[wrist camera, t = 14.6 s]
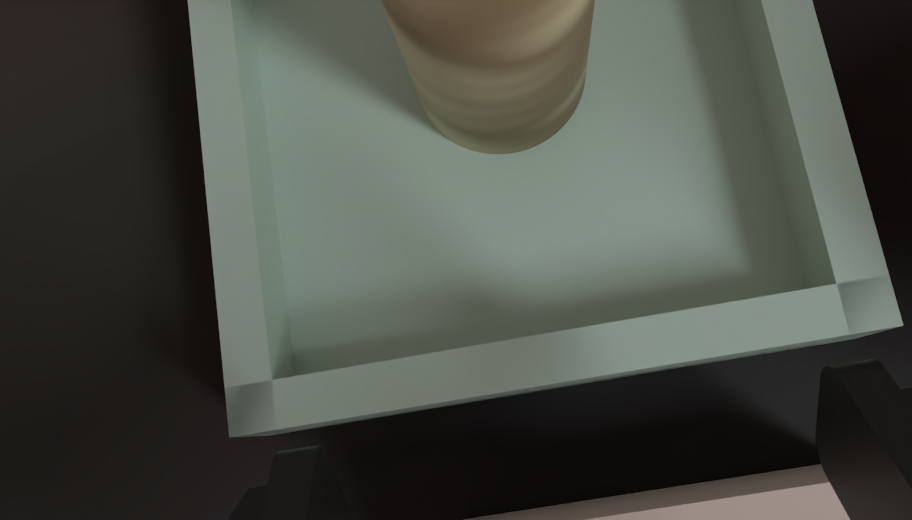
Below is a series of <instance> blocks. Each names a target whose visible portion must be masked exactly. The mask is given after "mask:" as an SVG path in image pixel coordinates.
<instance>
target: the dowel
mask: <svg viewBox="0 0 912 520" xmlns="http://www.w3.org/2000/svg"><path fill="white" fill-rule="evenodd" d="M381 2H382V5H383V7H384V10H385V12H386V15H387V17H388V20H389V23H390V25H391V28H392V30H393V33H394V36H395V38H396V41H397V43H398V46H399V48H400V51H401V54H402V56H403V59H404V61H405V64H406V67H407V69H408V72H409V74H410V77H411V79H412V82H413V85H414V87H415V90H416V92H417V95H418V97H419V100H420V103H421V105H422V108H423V110H424V112H425V114H426V115H427V117H428V119H429V120H430V121H431V123H432V124H433V125H434V127H435V128H436V129H437V130H438V131H439V132H440V133H441V134H442V135H444V136H445V137H446V138H448V139H449V140H450V141H452V142H454V143H456V144H457V145H459V146H461V147H464V148H466V149H469V150H472V151H476V152H480V153H486V154H509V153H516V152H520V151H524V150H527V149H530V148H532V147H535V146H537V145H539V144H541V143H543V142H544V141H546V140H548V139H549V138H551V137H552V136H553V135H555V134H556V133H557V132H558V131H559V130H560V129H561V128H562V127H563V126H564V125H565V124H566V123H567V122H568V120H569V119H570V118H571V117H572V115H573V113H574V112H575V110H576V108H577V106H578V104H579V102H580V99H581V97H582V93H583V90H584V85H585V78H586V69H587V61H588V53H589V45H590V37H591V29H592V20H593V12H594V4H595V0H381Z"/></svg>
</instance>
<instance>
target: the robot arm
mask: <svg viewBox="0 0 912 520" xmlns="http://www.w3.org/2000/svg"><path fill="white" fill-rule="evenodd" d="M816 446H817V452H818V456H819V459H820V462H821V465H822V468H823V470H824V473H825V475H826V477H827V478H828V480H829V482H830V484H831V486H832V488H833V489H834V491H835V493H836V495H837V497H838V498H839V500H840V502H841V504H842V506H843V508H844V509H845V511H846V513H847V515H848V517H849V518H850V520H912V388H908V389H900V388H899V386H898V385H897V384H896V382H895V381H894V380H893V378H892V377H891V375H890V374H889V373H888V371H887V370H886V369H885V367H884V366H883V365H882V364H881V363H880V362H879V361H877V360H876V359H870V360H864V361H857V362H851V363H845V364H838V365H832V366H826V367H824V368H823V369H822V372H821V377H820V388H819V400H818V411H817V423H816ZM229 520H350V514H349V510H348V506H347V503H346V500H345V498H344V495H343V492H342V490H341V487H340V485H339V482H338V479H337V477H336V474H335V472H334V469H333V466H332V464H331V461H330V459H329V456H328V453H327V451H326V449H325V447H324V446H323V445H315V446H309V447H303V448H296V449H290V450H284V451H278V452H276V454H275V456H274V458H273V462H272V466H271V471H270V476H269V481H268V485H267V486H264V487H258V488H251V489H248V490H247V492H246V493H245V495H244V496H243V498H242V499H241V500H240V502H239V503H238V505H237V506H236V508H235V509H234V511H233V512H232V514H231V515H230V517H229Z"/></svg>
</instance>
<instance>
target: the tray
mask: <svg viewBox="0 0 912 520" xmlns="http://www.w3.org/2000/svg"><path fill="white" fill-rule="evenodd" d="M188 9H189V20H190V30H191V41H192V51H193V62H194V72H195V83H196V93H197V104H198V114H199V125H200V135H201V146H202V156H203V167H204V177H205V188H206V198H207V209H208V219H209V230H210V240H211V251H212V261H213V272H214V282H215V293H216V303H217V314H218V324H219V335H220V345H221V356H222V366H223V377H224V387H225V398H226V408H227V419H228V429H229V437H250V436H271V435H277V434H283V433H289V432H295V431H301V430H307V429H313V428H319V427H325V426H331V425H337V424H343V423H349V422H355V421H361V420H367V419H373V418H379V417H385V416H392V415H398V414H404V413H410V412H416V411H422V410H428V409H434V408H440V407H446V406H452V405H458V404H464V403H470V402H476V401H482V400H488V399H494V398H500V397H506V396H512V395H519V394H525V393H531V392H537V391H543V390H549V389H555V388H561V387H567V386H573V385H579V384H585V383H591V382H597V381H603V380H609V379H615V378H621V377H627V376H633V375H639V374H646V373H652V372H658V371H664V370H670V369H676V368H682V367H688V366H694V365H700V364H706V363H712V362H718V361H724V360H730V359H736V358H742V357H748V356H754V355H760V354H766V353H773V352H779V351H785V350H791V349H797V348H803V347H809V346H815V345H821V344H827V343H833V342H839V341H845V340H851V339H856V338H860V337H863V336H867V335H871V334H874V333H878V332H882V331H886V330H889V329H893V328H897V327H900V326H903V322H902V319H901V315H900V312H899V308H898V304H897V301H896V297H895V294H894V290H893V287H892V283H891V279H890V276H889V272H888V269H887V265H886V262H885V258H884V255H883V251H882V247H881V244H880V240H879V237H878V233H877V230H876V226H875V222H874V219H873V215H872V212H871V208H870V205H869V201H868V198H867V194H866V190H865V187H864V183H863V180H862V176H861V173H860V169H859V165H858V162H857V158H856V155H855V151H854V148H853V144H852V141H851V137H850V133H849V130H848V126H847V123H846V119H845V116H844V112H843V108H842V105H841V101H840V98H839V94H838V91H837V87H836V84H835V80H834V76H833V73H832V69H831V66H830V62H829V59H828V55H827V51H826V48H825V44H824V41H823V37H822V34H821V30H820V27H819V23H818V19H817V16H816V12H815V9H814V5H813V2H812V0H595V4H594V12H593V20H592V29H591V37H590V45H589V53H588V61H587V69H586V78H585V85H584V90H583V93H582V97H581V99H580V102H579V104H578V106H577V108H576V110H575V112H574V113H573V115H572V117H571V118H570V119H569V120H568V122H567V123H566V124H565V125H564V126H563V127H562V128H561V129H560V130H559V131H558V132H557V133H556V134H555V135H553V136H552V137H551V138H549V139H548V140H546V141H544V142H543V143H541V144H539V145H537V146H535V147H532V148H530V149H527V150H524V151H520V152H516V153H509V154H486V153H480V152H476V151H472V150H469V149H466V148H464V147H461V146H459V145H457V144H456V143H454V142H452V141H450V140H449V139H448V138H446V137H445V136H444V135H442V134H441V133H440V132H439V131H438V130H437V129H436V128H435V127H434V125H433V124H432V123H431V121H430V120H429V119H428V117H427V115H426V114H425V112H424V110H423V108H422V105H421V103H420V100H419V97H418V95H417V92H416V90H415V87H414V85H413V82H412V79H411V77H410V74H409V72H408V69H407V67H406V64H405V61H404V59H403V56H402V54H401V51H400V48H399V46H398V43H397V41H396V38H395V36H394V33H393V30H392V28H391V25H390V23H389V20H388V17H387V15H386V12H385V10H384V7H383V5H382V2H381V0H188Z"/></svg>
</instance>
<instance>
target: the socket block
mask: <svg viewBox="0 0 912 520" xmlns="http://www.w3.org/2000/svg"><path fill="white" fill-rule="evenodd" d="M463 520H850V518H849V517H848V515H847V513H846V511H845V509H844V508H843V506H842V504H841V502H840V500H839V498H838V497H837V495H836V493H835V491H834V489H833V488H832V486H831V484H830V482H829V480H828V478H827V477H826V475H825V473H824V470H823V468H822V465H821V464H818V465H812V466H805V467H799V468H792V469H786V470H779V471H773V472H766V473H760V474H753V475H747V476H741V477H734V478H728V479H721V480H715V481H708V482H702V483H695V484H689V485H682V486H676V487H669V488H663V489H657V490H650V491H644V492H637V493H631V494H624V495H618V496H611V497H605V498H598V499H592V500H585V501H579V502H573V503H566V504H560V505H553V506H547V507H540V508H534V509H527V510H521V511H514V512H508V513H501V514H495V515H489V516H482V517H476V518H469V519H463Z"/></svg>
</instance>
